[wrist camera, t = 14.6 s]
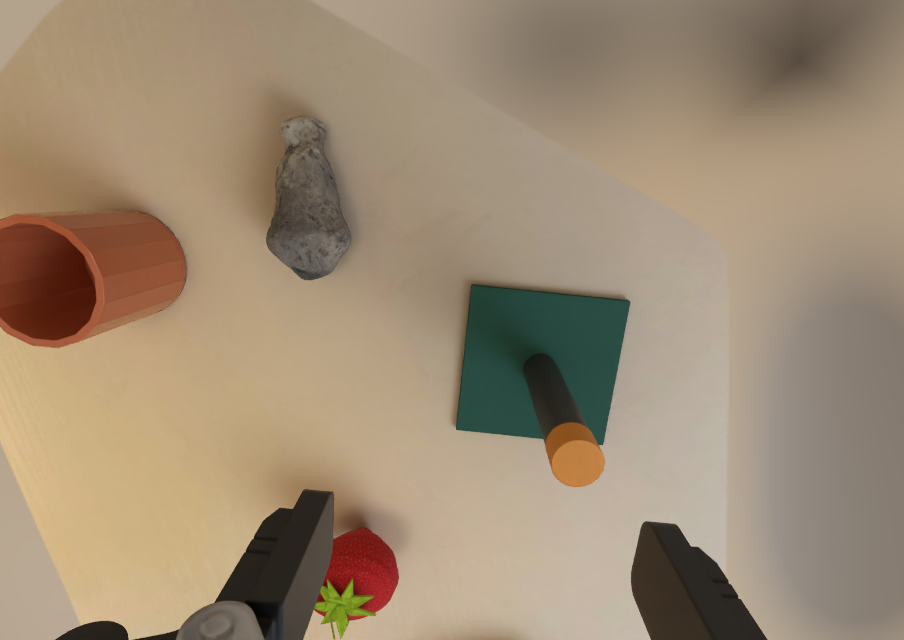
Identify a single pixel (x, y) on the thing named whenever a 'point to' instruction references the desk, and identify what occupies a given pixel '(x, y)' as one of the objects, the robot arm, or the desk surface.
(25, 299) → the pen cup
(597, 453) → the marker
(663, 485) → the desk surface
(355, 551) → the strawberry
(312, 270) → the stone
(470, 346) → the mat
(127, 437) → the desk surface
